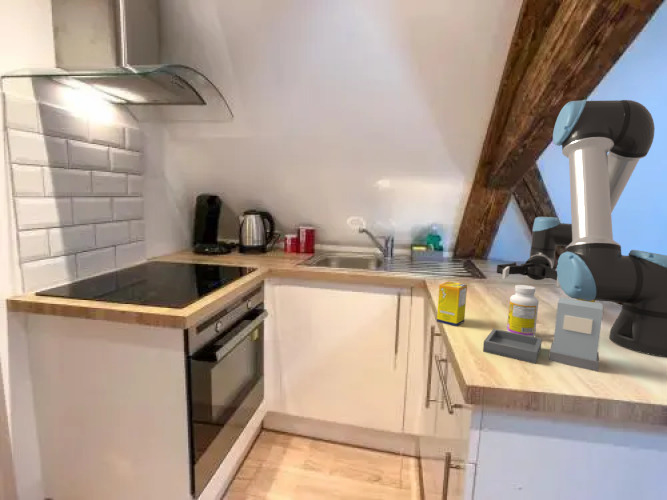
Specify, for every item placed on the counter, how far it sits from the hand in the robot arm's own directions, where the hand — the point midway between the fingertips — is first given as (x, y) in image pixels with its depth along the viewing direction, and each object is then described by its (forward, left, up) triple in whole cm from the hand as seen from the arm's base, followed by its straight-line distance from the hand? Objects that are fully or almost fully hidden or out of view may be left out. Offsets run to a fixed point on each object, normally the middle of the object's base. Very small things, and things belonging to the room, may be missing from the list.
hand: (530, 278), depth 107 cm
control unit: (-12, +21, -14) cm, 28 cm away
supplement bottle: (0, +10, -14) cm, 17 cm away
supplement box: (+18, +11, -14) cm, 25 cm away
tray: (0, +23, -14) cm, 27 cm away
